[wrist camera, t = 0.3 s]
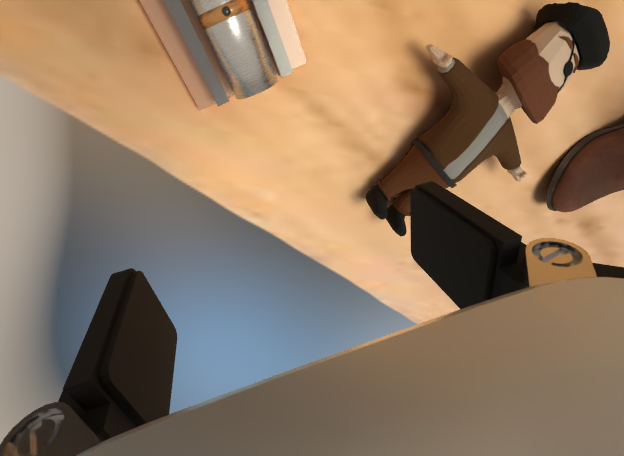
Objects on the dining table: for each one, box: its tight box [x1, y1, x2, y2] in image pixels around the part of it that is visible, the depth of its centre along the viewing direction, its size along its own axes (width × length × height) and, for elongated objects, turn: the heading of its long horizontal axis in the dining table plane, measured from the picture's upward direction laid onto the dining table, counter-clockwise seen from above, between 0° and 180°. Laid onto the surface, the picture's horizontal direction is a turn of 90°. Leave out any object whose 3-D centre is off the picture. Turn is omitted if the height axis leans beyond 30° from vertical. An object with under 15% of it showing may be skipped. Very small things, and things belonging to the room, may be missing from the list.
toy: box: [366, 2, 610, 236], centre depth 40 cm, size 24×10×30 cm
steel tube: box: [190, 0, 278, 99], centre depth 28 cm, size 13×4×5 cm, turn 20°
